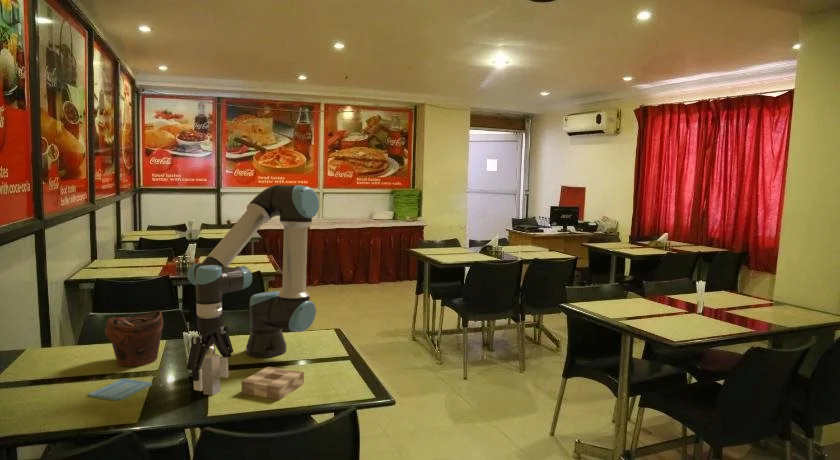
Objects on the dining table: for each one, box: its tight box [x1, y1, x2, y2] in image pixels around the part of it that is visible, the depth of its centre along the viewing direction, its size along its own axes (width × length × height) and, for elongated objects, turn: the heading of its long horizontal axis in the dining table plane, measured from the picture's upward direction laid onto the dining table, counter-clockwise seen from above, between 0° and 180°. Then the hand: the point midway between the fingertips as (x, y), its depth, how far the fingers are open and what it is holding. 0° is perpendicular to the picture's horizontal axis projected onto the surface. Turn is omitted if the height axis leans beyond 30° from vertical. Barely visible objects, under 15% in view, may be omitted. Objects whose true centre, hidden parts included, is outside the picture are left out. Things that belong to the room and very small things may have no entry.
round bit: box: [200, 344, 216, 378], centre depth 190 cm, size 5×5×10 cm
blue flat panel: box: [87, 378, 153, 402], centre depth 176 cm, size 14×12×1 cm
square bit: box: [202, 353, 221, 396], centre depth 174 cm, size 4×4×12 cm
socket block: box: [240, 366, 305, 401], centre depth 179 cm, size 14×14×4 cm
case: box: [104, 309, 164, 368], centre depth 201 cm, size 18×20×18 cm
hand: (211, 383), depth 174 cm, fingers open, 11 cm apart
